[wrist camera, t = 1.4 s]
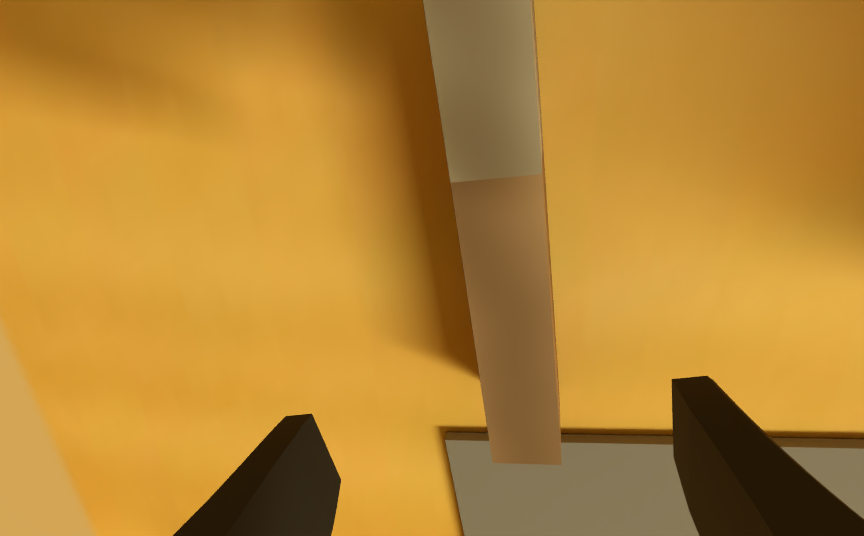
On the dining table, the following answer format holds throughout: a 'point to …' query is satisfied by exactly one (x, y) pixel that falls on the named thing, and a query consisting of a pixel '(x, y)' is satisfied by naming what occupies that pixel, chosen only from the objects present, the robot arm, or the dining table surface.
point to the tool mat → (612, 485)
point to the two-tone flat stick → (501, 214)
